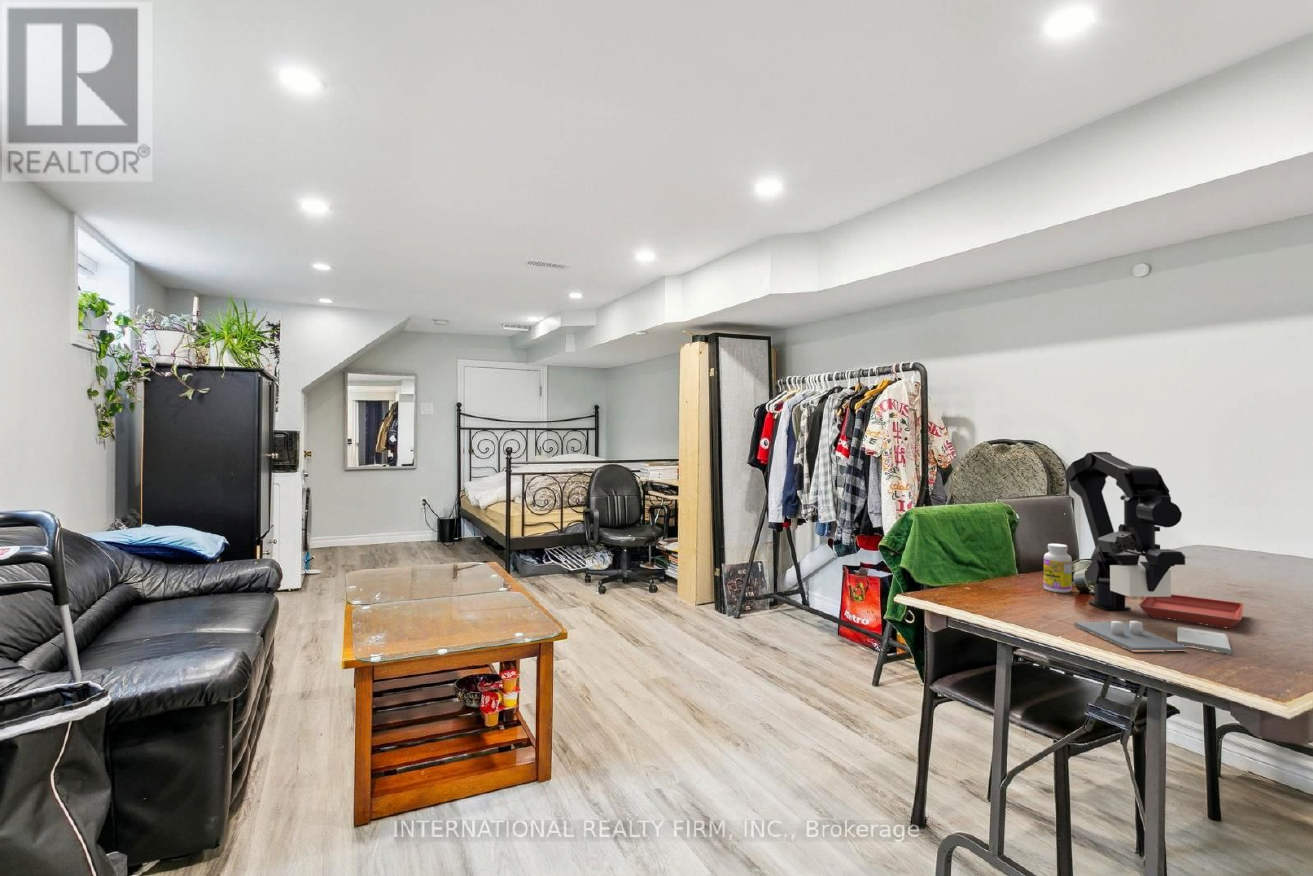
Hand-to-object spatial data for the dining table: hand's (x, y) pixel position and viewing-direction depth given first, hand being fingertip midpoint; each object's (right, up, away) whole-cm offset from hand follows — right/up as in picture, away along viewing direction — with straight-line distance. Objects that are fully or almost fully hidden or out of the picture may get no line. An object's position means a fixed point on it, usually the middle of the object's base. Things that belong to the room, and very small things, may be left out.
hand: (1139, 588), depth 144 cm
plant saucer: (+17, -9, +5) cm, 19 cm away
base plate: (-11, -8, -11) cm, 18 cm away
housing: (0, -1, 0) cm, 1 cm away
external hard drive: (+3, -9, -14) cm, 16 cm away
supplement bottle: (0, -8, +30) cm, 31 cm away
